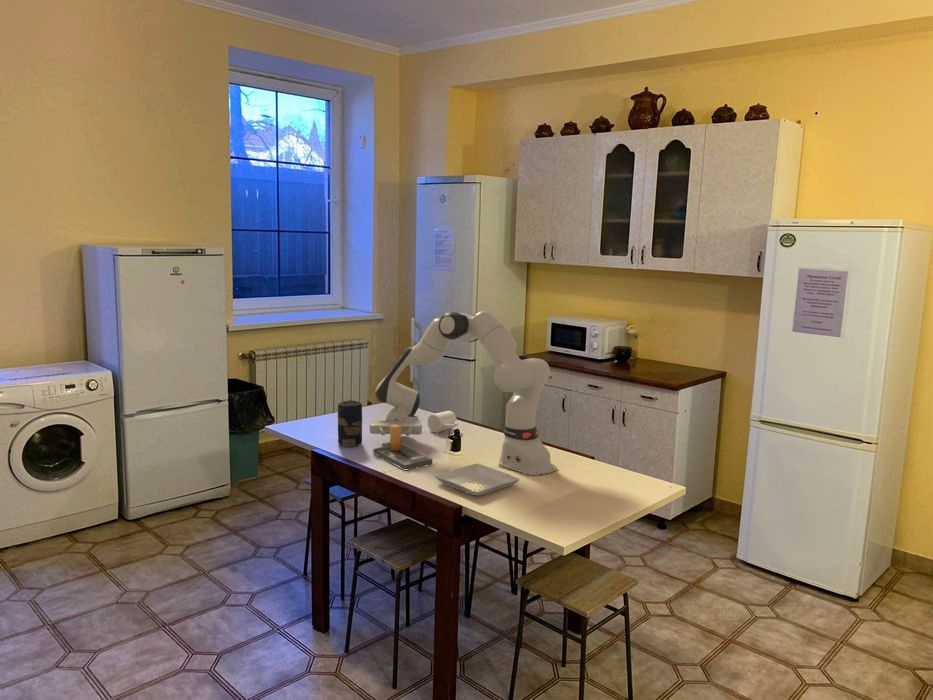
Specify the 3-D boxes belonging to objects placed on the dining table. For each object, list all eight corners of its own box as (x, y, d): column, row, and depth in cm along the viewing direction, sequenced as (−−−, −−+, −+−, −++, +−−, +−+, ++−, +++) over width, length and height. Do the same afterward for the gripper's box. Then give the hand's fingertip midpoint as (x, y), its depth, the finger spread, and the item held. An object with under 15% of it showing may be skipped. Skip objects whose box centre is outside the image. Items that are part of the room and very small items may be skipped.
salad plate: (476, 470, 257) (476, 461, 256) (520, 487, 242) (521, 477, 242) (432, 484, 242) (432, 474, 242) (476, 502, 227) (477, 492, 227)
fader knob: (402, 449, 269) (403, 425, 267) (393, 451, 267) (394, 427, 265) (397, 446, 272) (397, 423, 271) (388, 448, 270) (388, 424, 268)
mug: (427, 430, 304) (427, 412, 303) (443, 426, 311) (444, 408, 310) (446, 437, 296) (447, 418, 294) (463, 432, 303) (464, 414, 302)
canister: (363, 447, 278) (363, 403, 275) (338, 448, 276) (338, 403, 273) (360, 440, 287) (361, 397, 284) (336, 441, 285) (336, 397, 282)
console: (432, 464, 261) (432, 455, 260) (404, 470, 254) (404, 461, 253) (400, 448, 278) (400, 440, 278) (373, 453, 271) (373, 445, 270)
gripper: (370, 415, 282) (367, 425, 269) (421, 416, 284) (422, 426, 270) (370, 430, 283) (367, 441, 270) (421, 431, 285) (421, 441, 271)
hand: (395, 433), depth 270 cm, fingers open, 8 cm apart
